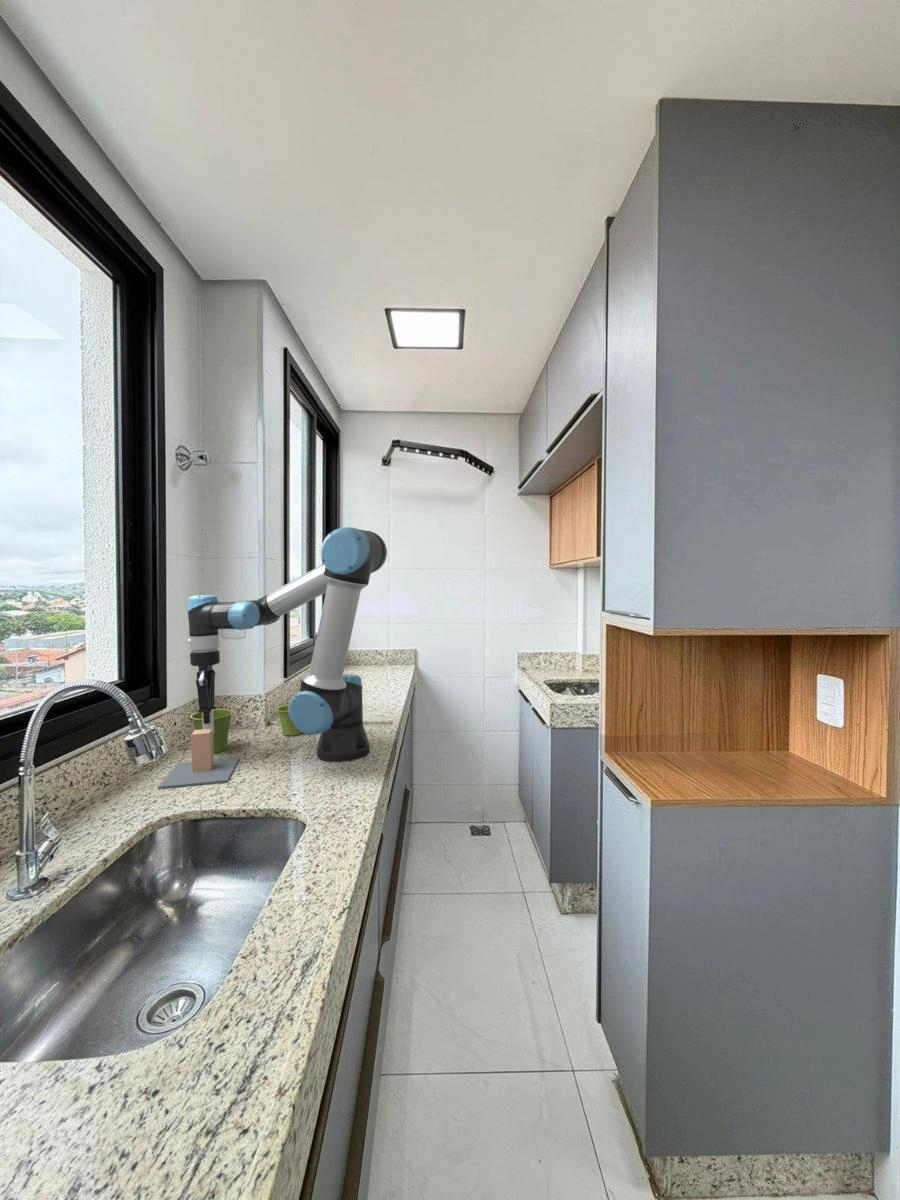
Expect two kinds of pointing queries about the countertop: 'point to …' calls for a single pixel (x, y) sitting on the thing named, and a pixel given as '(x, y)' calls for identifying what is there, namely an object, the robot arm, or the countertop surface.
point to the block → (202, 750)
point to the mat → (199, 774)
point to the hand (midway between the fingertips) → (208, 733)
